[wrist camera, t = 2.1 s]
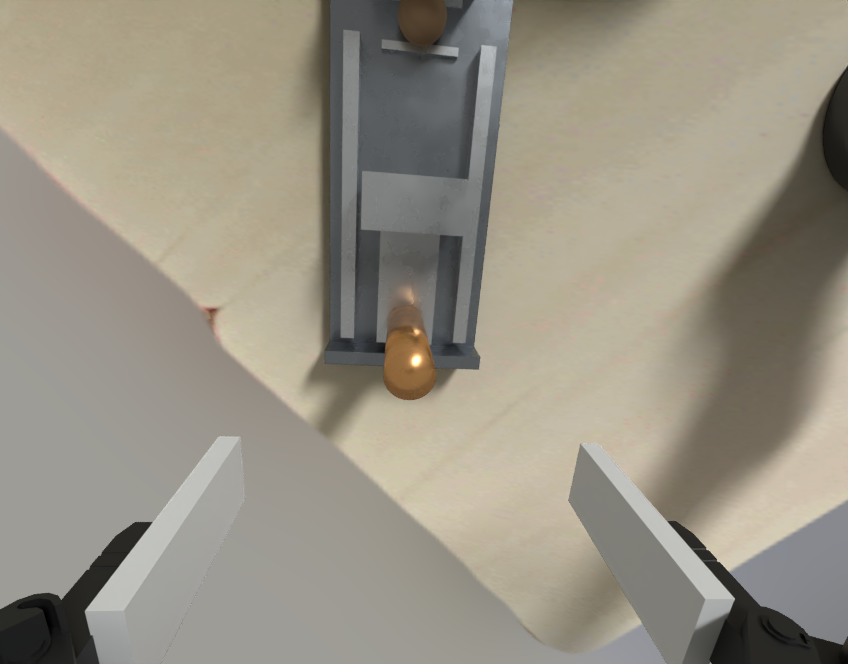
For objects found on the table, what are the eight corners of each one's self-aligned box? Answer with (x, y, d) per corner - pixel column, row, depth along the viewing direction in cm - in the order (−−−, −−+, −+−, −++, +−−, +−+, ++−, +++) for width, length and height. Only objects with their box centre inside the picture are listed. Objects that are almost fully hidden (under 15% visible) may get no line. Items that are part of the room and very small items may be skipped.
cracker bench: (334, -110, 30) (309, -241, 21) (516, -84, 31) (563, -197, 22) (333, 345, 40) (316, 382, 31) (469, 351, 41) (488, 388, 33)
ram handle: (367, 177, 33) (349, 156, 20) (456, 184, 34) (495, 168, 21) (363, 334, 38) (346, 403, 24) (442, 338, 38) (468, 407, 25)
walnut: (420, -14, 30) (423, -42, 27) (453, 27, 31) (460, 4, 27) (388, 26, 31) (387, 3, 27) (421, 64, 32) (424, 46, 28)
